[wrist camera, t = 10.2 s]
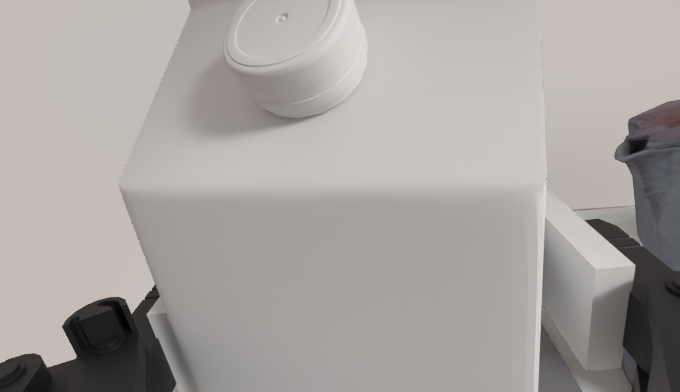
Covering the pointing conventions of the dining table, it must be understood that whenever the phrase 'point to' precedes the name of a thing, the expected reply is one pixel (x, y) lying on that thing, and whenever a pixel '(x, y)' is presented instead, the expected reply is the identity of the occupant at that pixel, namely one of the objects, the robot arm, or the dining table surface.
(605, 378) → the dining table surface
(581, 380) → the dining table surface
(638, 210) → the moka pot
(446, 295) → the milk carton
